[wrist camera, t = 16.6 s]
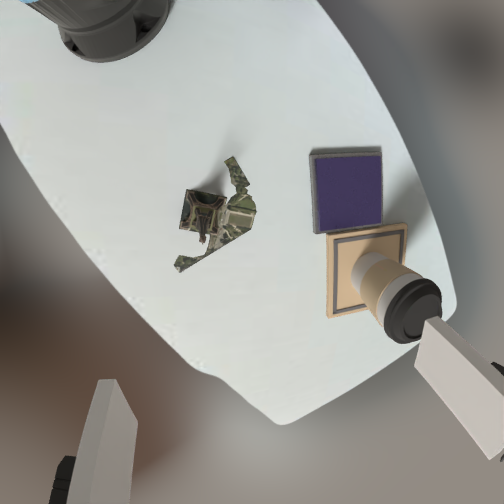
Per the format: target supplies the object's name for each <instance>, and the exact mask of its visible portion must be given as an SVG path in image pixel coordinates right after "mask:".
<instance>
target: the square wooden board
mask: <svg viewBox="0 0 504 504" xmlns="http://www.w3.org/2000/svg"><path fill="white" fill-rule="evenodd" d="M406 239H407V224H405V223H399V224H392V225H385V226H378V227H371V228H364V229H356V230H349V231H342V232H335V233H328V234H326V242H327V310H326V316H327V317H328V319H329V318H333V317H338V316H342V315H347V314H351V313H355V312H359V311H363V310H368V307H367V306H366V305H365V303H364V302H363V300H362V299H361V296H360V295H359V293H358V292H357V291H356V289H355V288H354V287H353V285H352V283H351V271H352V268H353V266H354V264H355V262H356V261H357V260H358V259H359V258H360V257H361V256H363V255H364V254H366V253H369V252H377V253H380V254H382V255H383V256H385V257H387V258H389V259H392V260H394V261H396V262H398V263H400V264H402V265H404V264H405V253H406Z"/></svg>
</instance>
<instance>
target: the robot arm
mask: <svg viewBox="0 0 504 504" xmlns="http://www.w3.org/2000/svg"><path fill="white" fill-rule="evenodd" d="M20 1H21V2H23V3H25V4H27V5H28V6H30V7H31V8H33V9H35V10H36V11H38V12H39V13H41V14H42V15H44V16H45V17H47V18H48V19H50V20H51V21H53V22H54V23H56V24H57V25H58V28H59V32H60V35H61V38H62V41H63V43H64V44H65V46H66V47H67V48H68V49H69V50H70V51H71V52H72V53H73V54H75V55H77V56H78V57H80V58H82V59H84V60H87V61H90V62H98V63H104V62H112V61H116V60H120V59H122V58H125V57H128V56H130V55H132V54H134V53H135V52H137V51H139V50H140V49H142V48H143V47H144V46H146V45H147V44H148V43H149V42H150V41H151V40H152V39H153V38H154V37H155V36H156V35H157V34H158V32H159V31H160V30H161V28H162V27H163V25H164V23H165V21H166V18H167V15H168V11H169V0H20ZM414 366H415V368H416V369H417V370H418V371H419V372H420V374H421V375H422V376H423V377H424V378H425V379H426V381H427V382H428V383H429V384H430V385H431V387H432V388H433V389H434V390H435V392H436V393H437V394H438V395H439V396H440V398H441V399H442V400H443V401H444V403H445V404H446V405H447V406H448V408H449V409H450V410H451V411H452V412H453V413H454V415H455V416H456V417H457V419H458V420H459V421H460V423H461V424H462V425H463V426H464V428H465V429H466V430H467V431H468V433H469V434H470V435H471V437H472V438H473V439H474V441H475V442H476V443H477V444H478V446H479V447H480V448H481V450H482V451H483V452H484V454H485V455H486V456H487V458H488V459H489V460H490V459H492V458H493V457H494V456H496V455H497V454H498V453H499V452H501V451H502V449H503V448H504V367H503V366H501V365H499V364H497V363H495V362H493V363H491V364H490V363H489V362H488V361H487V360H486V359H485V358H484V357H483V356H482V355H481V354H480V353H479V352H478V351H476V350H475V349H474V348H473V347H472V346H471V345H470V344H469V343H468V342H467V341H465V340H464V339H463V338H462V337H461V336H460V335H459V334H458V333H457V332H456V331H454V330H453V329H452V328H451V327H450V326H449V325H447V324H446V323H445V322H444V321H443V320H442V319H441V318H440V317H438V316H436V317H433V318H430V319H427V320H425V324H424V328H423V333H422V337H421V341H420V346H419V350H418V354H417V358H416V361H415V365H414ZM137 426H138V421H137V420H136V418H135V416H134V414H133V412H132V411H131V409H130V407H129V405H128V403H127V401H126V399H125V397H124V395H123V393H122V391H121V389H120V387H119V385H118V383H117V381H116V379H106V380H99V381H98V384H97V387H96V390H95V393H94V397H93V400H92V403H91V406H90V410H89V413H88V416H87V420H86V423H85V427H84V430H83V434H82V438H81V442H80V446H79V449H78V453H77V457H73V456H65V457H64V458H63V460H62V461H61V462H60V464H59V465H58V467H57V472H56V475H55V480H54V483H53V489H52V492H51V496H50V500H49V504H129V501H130V489H131V477H132V468H133V458H134V450H135V441H136V433H137ZM503 460H504V454H503V456H502V457H501V460H500V462H502V461H503Z"/></svg>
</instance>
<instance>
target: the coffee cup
mask: <svg viewBox="0 0 504 504" xmlns="http://www.w3.org/2000/svg"><path fill="white" fill-rule="evenodd" d="M351 283H352V285H353V287H354V288H355V289H356V291H357V292H358V293H359V295H360V296H361V299H362V300H363V302H364V303H365V305H366V306H367V307H368V309H369V310H370V311H371V313H372V314H373V316H374V317H375V318H376V320H377V321H378V323H379V324H380V325H381V326H382V327H384V330H385V332H386V334H387V335H388V337H390V338H391V339H393V340H394V341H395V342H397V343H400V344H407V343H411V342H414V341H418V340H420V339H421V337H422V333H423V328H424V324H425V320H427V319H430V318H433V317H436V316H438V317H440V318H441V317H442V307H441V303H442V296H441V291H440V289H439V288H438V286H437V285H436V284H435V283H434V282H433V281H431V280H429V279H425V278H423V277H422V276H421V275H420V274H418V273H416V272H414V271H413V270H411V269H409V268H407V267H405V266H404V265H402V264H400V263H398V262H396V261H394V260H392V259H389V258H387V257H385V256H383V255H382V254H380V253H377V252H369V253H366V254H364V255H363V256H361V257H360V258H359V259H358V260H357V261H356V262H355V264H354V266H353V268H352V271H351Z"/></svg>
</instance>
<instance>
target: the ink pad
mask: <svg viewBox="0 0 504 504" xmlns="http://www.w3.org/2000/svg"><path fill="white" fill-rule="evenodd" d="M309 163H310V178H311V194H312V213H313V232H314V233H315V234H321V233H329V232H336V231H343V230H350V229H357V228H364V227H371V226H379V225H382V207H383V185H382V152H357V153H333V154H316V155H309Z"/></svg>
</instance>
